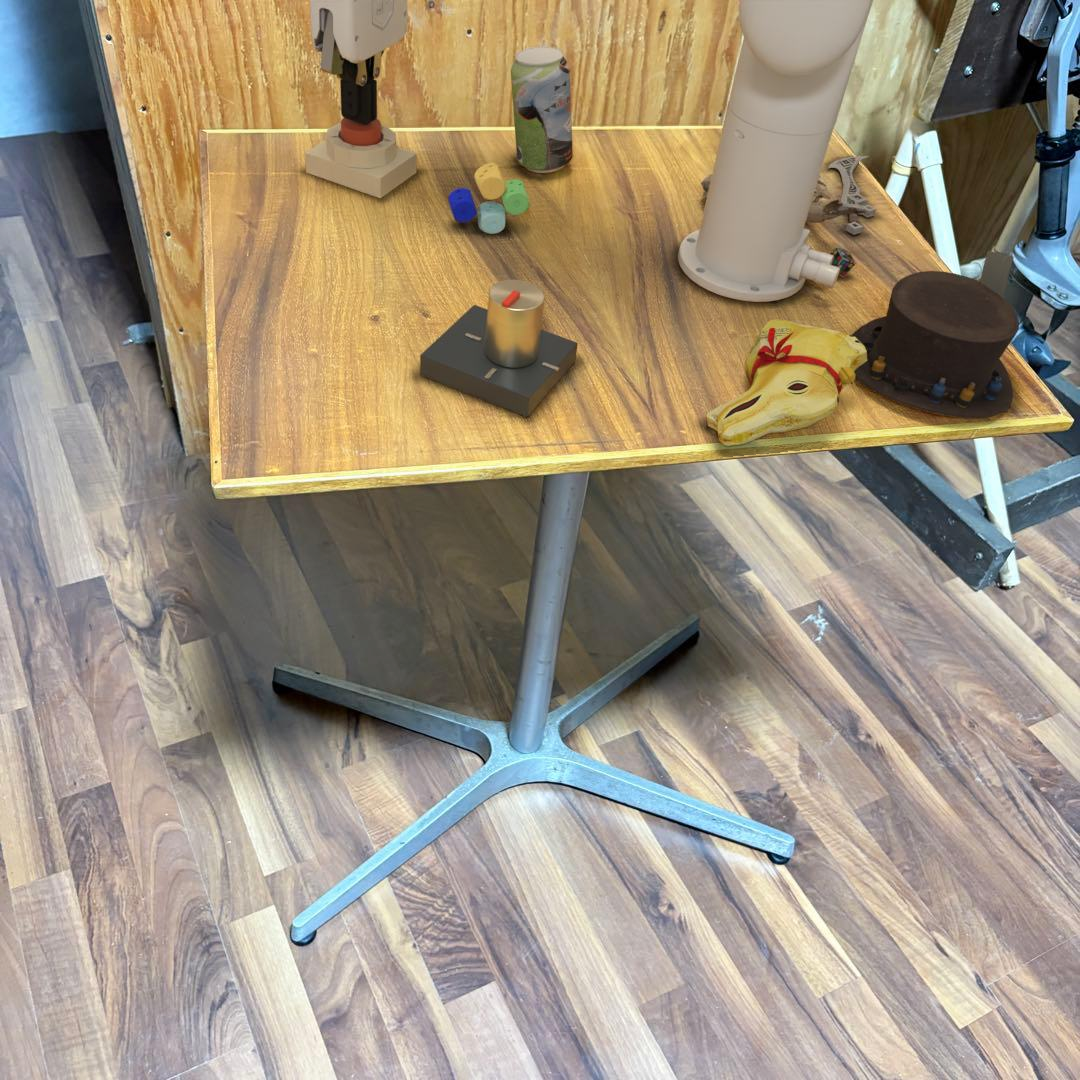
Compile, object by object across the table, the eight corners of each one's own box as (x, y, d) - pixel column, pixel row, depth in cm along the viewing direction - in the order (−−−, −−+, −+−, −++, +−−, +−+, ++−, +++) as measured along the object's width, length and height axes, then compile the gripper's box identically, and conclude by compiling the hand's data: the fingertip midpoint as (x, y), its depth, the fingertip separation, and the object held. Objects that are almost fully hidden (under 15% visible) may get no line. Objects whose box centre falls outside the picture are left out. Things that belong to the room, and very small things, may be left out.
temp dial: (499, 330, 90) (504, 270, 86) (546, 347, 89) (554, 286, 85) (475, 356, 87) (479, 295, 83) (523, 374, 86) (530, 313, 82)
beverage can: (571, 182, 114) (585, 68, 106) (502, 175, 114) (511, 60, 105) (571, 155, 119) (584, 44, 110) (505, 149, 118) (513, 37, 110)
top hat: (1016, 444, 89) (1073, 340, 82) (838, 402, 91) (877, 296, 83) (1007, 346, 100) (1056, 246, 92) (847, 311, 101) (882, 209, 94)
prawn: (826, 109, 119) (787, 161, 124) (747, 70, 114) (709, 126, 118) (914, 251, 105) (866, 303, 109) (828, 214, 99) (781, 271, 103)
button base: (416, 172, 112) (417, 135, 110) (380, 198, 108) (380, 160, 105) (344, 148, 115) (343, 111, 112) (306, 172, 110) (303, 135, 107)
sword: (829, 231, 112) (877, 239, 112) (831, 224, 111) (879, 231, 111) (826, 153, 126) (868, 159, 126) (828, 146, 126) (871, 152, 125)
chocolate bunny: (885, 381, 89) (792, 484, 81) (770, 358, 96) (674, 452, 88) (882, 308, 85) (784, 410, 77) (762, 290, 91) (661, 382, 84)
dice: (448, 234, 104) (451, 171, 100) (445, 220, 106) (448, 158, 101) (529, 234, 106) (535, 173, 101) (525, 220, 107) (531, 160, 103)
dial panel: (578, 363, 91) (581, 342, 90) (530, 418, 85) (533, 397, 84) (472, 323, 94) (474, 302, 92) (419, 374, 88) (420, 353, 86)
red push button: (388, 138, 109) (388, 121, 108) (367, 152, 107) (366, 135, 106) (355, 127, 110) (355, 110, 109) (333, 140, 108) (332, 123, 107)
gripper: (343, -56, 88) (348, 156, 101) (436, -93, 98) (429, 104, 111) (268, -77, 90) (283, 133, 103) (366, -112, 100) (368, 84, 113)
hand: (359, 118), depth 107 cm, fingers closed
